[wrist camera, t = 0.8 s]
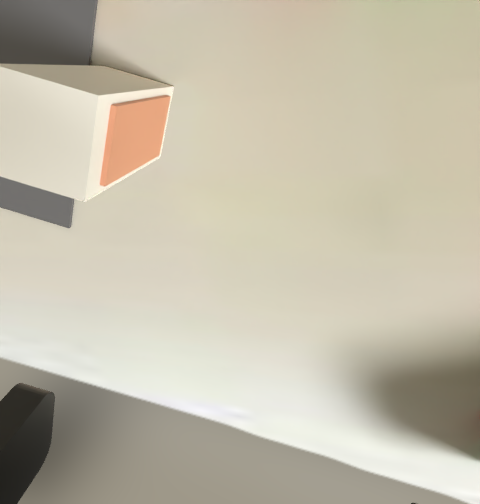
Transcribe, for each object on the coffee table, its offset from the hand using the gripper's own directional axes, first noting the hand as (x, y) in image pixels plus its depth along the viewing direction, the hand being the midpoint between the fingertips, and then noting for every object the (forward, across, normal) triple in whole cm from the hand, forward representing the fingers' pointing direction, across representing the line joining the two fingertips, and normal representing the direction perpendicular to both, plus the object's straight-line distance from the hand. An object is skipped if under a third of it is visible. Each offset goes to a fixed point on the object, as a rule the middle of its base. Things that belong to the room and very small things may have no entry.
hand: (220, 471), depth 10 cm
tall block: (+24, +12, -2) cm, 27 cm away
